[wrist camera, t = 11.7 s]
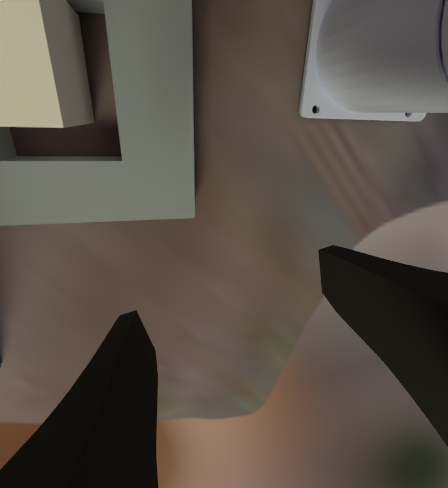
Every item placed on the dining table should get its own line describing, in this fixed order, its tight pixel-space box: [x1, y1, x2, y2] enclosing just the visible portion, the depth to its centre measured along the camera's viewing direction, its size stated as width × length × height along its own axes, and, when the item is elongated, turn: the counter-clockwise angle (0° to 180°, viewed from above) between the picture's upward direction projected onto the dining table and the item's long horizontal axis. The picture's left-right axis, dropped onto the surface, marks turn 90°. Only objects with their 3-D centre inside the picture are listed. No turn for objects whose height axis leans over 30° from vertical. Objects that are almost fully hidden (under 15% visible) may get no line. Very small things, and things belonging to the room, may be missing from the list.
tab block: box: [0, 0, 95, 128], centre depth 12 cm, size 3×5×6 cm, turn 178°
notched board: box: [0, 0, 195, 226], centre depth 14 cm, size 14×14×2 cm
